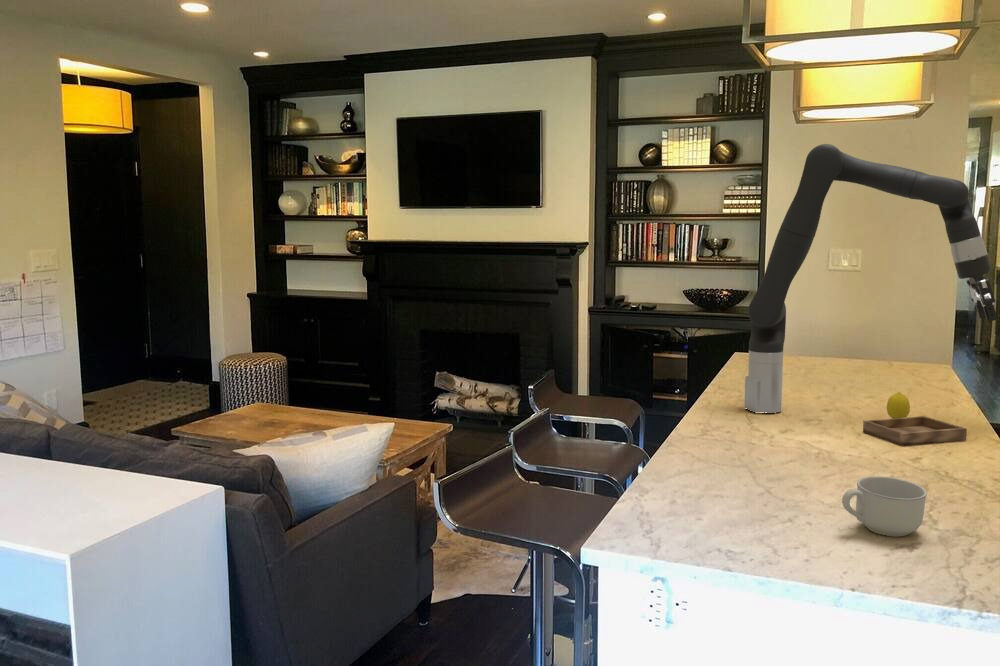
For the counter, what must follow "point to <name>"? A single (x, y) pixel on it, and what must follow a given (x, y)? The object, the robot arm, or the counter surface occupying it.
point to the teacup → (887, 505)
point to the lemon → (898, 406)
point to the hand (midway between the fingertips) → (988, 319)
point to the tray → (914, 430)
